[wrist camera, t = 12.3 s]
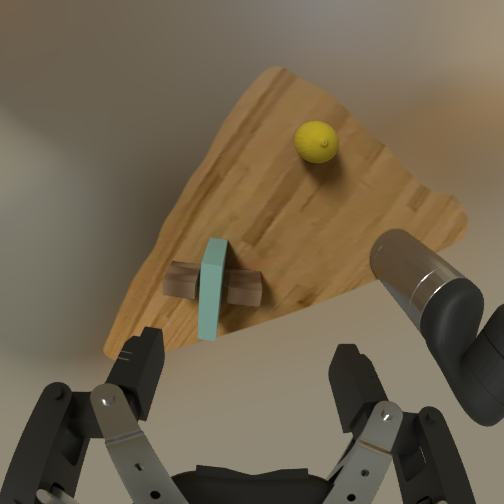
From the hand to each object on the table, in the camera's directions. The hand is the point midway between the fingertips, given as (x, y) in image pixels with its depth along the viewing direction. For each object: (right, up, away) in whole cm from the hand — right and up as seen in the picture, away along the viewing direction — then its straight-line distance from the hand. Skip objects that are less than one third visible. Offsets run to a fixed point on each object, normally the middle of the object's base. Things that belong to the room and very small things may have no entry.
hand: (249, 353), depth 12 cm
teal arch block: (-6, +1, +32) cm, 33 cm away
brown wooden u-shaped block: (-6, +1, +32) cm, 33 cm away
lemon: (+8, +20, +25) cm, 33 cm away
